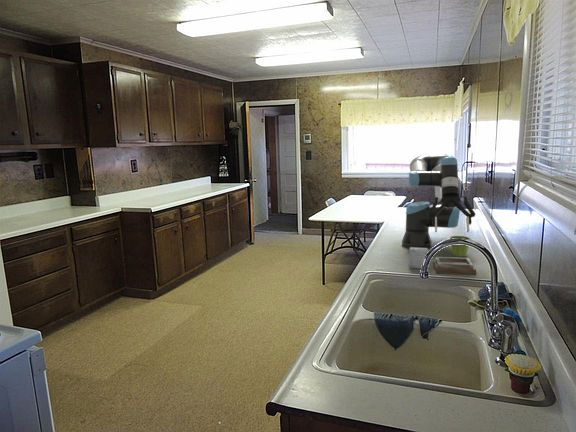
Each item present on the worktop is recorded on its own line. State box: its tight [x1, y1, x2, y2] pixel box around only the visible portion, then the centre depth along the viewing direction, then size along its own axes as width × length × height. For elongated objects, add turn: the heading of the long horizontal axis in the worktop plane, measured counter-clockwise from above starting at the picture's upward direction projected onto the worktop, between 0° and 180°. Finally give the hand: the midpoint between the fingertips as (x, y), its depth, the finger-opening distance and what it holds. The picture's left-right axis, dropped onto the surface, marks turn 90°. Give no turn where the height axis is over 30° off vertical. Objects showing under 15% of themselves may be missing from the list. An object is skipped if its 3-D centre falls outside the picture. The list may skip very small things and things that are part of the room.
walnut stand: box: [432, 256, 477, 275], centre depth 188 cm, size 14×16×4 cm
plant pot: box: [449, 235, 472, 258], centre depth 206 cm, size 9×9×9 cm
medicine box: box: [408, 247, 429, 269], centre depth 191 cm, size 8×4×9 cm, turn 74°
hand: (451, 231), depth 192 cm, fingers open, 13 cm apart
